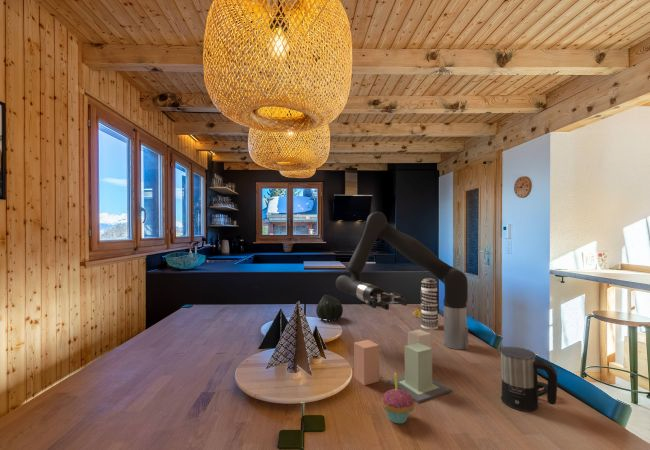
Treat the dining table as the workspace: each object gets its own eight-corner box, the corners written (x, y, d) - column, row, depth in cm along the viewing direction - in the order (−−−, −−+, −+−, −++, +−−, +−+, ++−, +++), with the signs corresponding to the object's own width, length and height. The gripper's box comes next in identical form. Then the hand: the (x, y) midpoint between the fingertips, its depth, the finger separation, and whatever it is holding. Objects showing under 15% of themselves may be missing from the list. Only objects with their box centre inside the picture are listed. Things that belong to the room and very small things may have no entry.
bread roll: (424, 319, 176) (424, 312, 176) (411, 316, 183) (411, 309, 183) (432, 317, 181) (432, 310, 181) (418, 314, 188) (418, 307, 188)
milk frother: (503, 408, 88) (502, 355, 88) (494, 382, 102) (493, 337, 103) (564, 418, 83) (562, 362, 83) (545, 390, 97) (544, 342, 98)
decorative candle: (440, 325, 164) (440, 278, 164) (436, 330, 156) (435, 280, 157) (423, 323, 169) (422, 277, 169) (418, 327, 161) (417, 279, 161)
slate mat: (387, 382, 103) (387, 380, 103) (419, 373, 109) (419, 371, 110) (418, 402, 91) (418, 400, 91) (451, 391, 97) (451, 389, 97)
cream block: (407, 363, 118) (407, 331, 118) (419, 360, 120) (419, 329, 121) (419, 369, 112) (419, 336, 112) (431, 366, 115) (431, 333, 115)
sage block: (404, 382, 101) (404, 345, 102) (418, 378, 104) (418, 342, 104) (418, 391, 96) (417, 352, 96) (432, 386, 99) (431, 348, 99)
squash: (350, 311, 172) (339, 289, 181) (328, 317, 164) (317, 293, 172) (339, 324, 181) (329, 301, 189) (318, 330, 173) (308, 306, 181)
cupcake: (378, 410, 87) (377, 367, 87) (407, 408, 88) (407, 365, 88) (387, 429, 79) (386, 381, 79) (419, 427, 79) (419, 380, 80)
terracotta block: (354, 377, 107) (354, 342, 107) (368, 373, 109) (368, 339, 110) (364, 385, 101) (363, 348, 101) (379, 381, 104) (378, 345, 104)
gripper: (355, 287, 122) (382, 298, 108) (383, 282, 129) (412, 291, 115) (355, 306, 122) (382, 319, 108) (383, 300, 129) (411, 311, 115)
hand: (397, 305), depth 111 cm, fingers open, 8 cm apart
